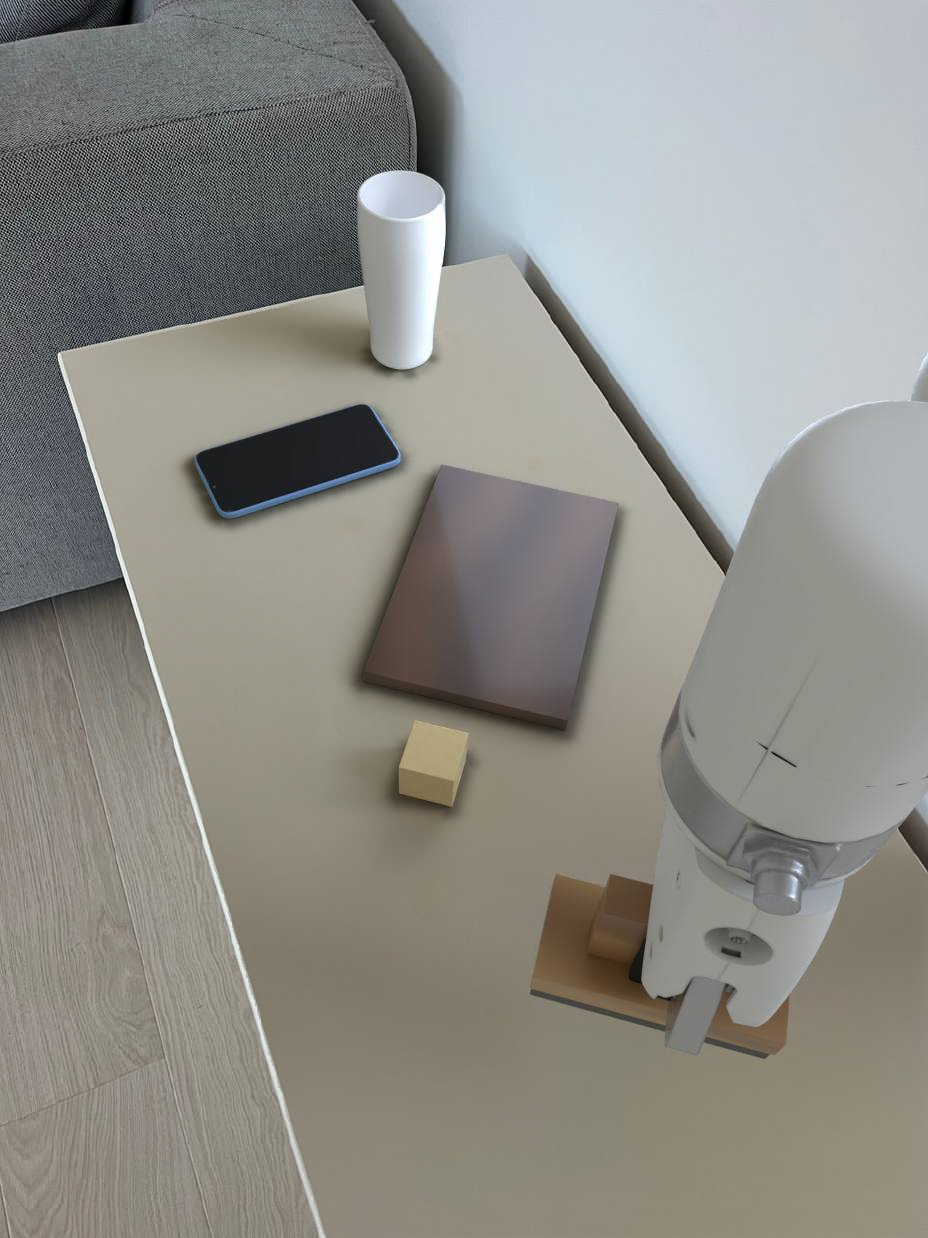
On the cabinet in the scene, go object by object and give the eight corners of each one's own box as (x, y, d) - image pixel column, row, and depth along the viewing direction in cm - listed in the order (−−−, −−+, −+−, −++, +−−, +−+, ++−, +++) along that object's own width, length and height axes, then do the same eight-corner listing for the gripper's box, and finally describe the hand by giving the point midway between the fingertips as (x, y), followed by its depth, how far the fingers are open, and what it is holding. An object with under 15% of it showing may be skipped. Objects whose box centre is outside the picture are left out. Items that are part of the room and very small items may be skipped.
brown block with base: (549, 897, 53) (568, 826, 46) (776, 957, 52) (829, 893, 45) (526, 996, 50) (545, 936, 44) (767, 1063, 49) (822, 1010, 42)
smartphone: (405, 457, 84) (221, 517, 80) (405, 465, 85) (222, 524, 80) (367, 397, 88) (189, 451, 83) (367, 405, 89) (191, 458, 84)
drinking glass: (425, 319, 95) (428, 162, 83) (452, 368, 92) (459, 211, 80) (352, 335, 94) (344, 176, 82) (376, 385, 90) (372, 227, 78)
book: (616, 513, 83) (619, 502, 82) (566, 730, 71) (568, 721, 70) (440, 474, 84) (441, 464, 83) (363, 681, 73) (363, 671, 72)
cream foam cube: (466, 760, 70) (468, 732, 67) (452, 807, 68) (454, 781, 65) (414, 747, 70) (414, 719, 67) (398, 793, 68) (398, 767, 65)
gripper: (904, 1045, 29) (731, 1168, 43) (910, 591, 38) (766, 821, 53) (626, 970, 29) (550, 1116, 44) (698, 544, 39) (615, 783, 53)
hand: (668, 954), depth 48 cm, fingers closed on brown block with base
